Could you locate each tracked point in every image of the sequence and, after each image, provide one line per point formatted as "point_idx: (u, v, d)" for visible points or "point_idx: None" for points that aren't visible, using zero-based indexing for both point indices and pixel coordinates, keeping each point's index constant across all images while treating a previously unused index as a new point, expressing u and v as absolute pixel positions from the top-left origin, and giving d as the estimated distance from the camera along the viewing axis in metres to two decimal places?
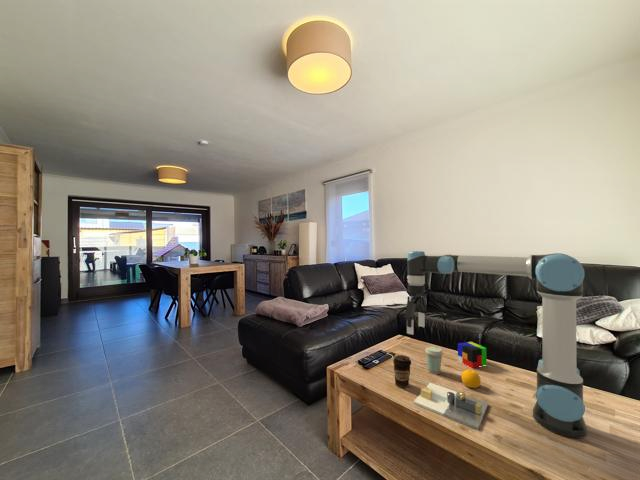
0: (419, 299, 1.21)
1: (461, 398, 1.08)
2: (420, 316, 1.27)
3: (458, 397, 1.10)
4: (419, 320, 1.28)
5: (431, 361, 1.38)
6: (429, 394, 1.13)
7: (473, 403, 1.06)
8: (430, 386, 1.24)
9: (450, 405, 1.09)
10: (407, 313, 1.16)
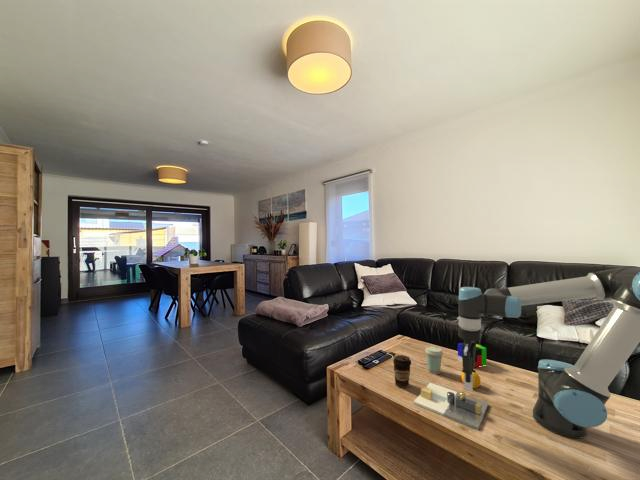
0: (474, 346, 0.99)
1: (461, 398, 1.08)
2: None
3: (458, 397, 1.10)
4: None
5: (431, 361, 1.38)
6: (429, 394, 1.13)
7: (473, 403, 1.06)
8: (430, 386, 1.24)
9: (450, 405, 1.09)
10: (465, 368, 0.98)
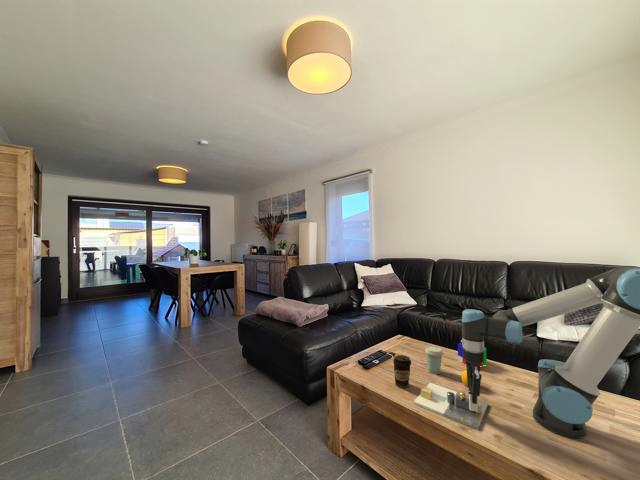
0: (479, 367, 1.03)
1: (461, 398, 1.08)
2: None
3: (458, 397, 1.10)
4: (471, 402, 1.04)
5: (431, 361, 1.38)
6: (429, 394, 1.13)
7: None
8: (430, 386, 1.24)
9: (450, 405, 1.09)
10: (475, 391, 1.01)
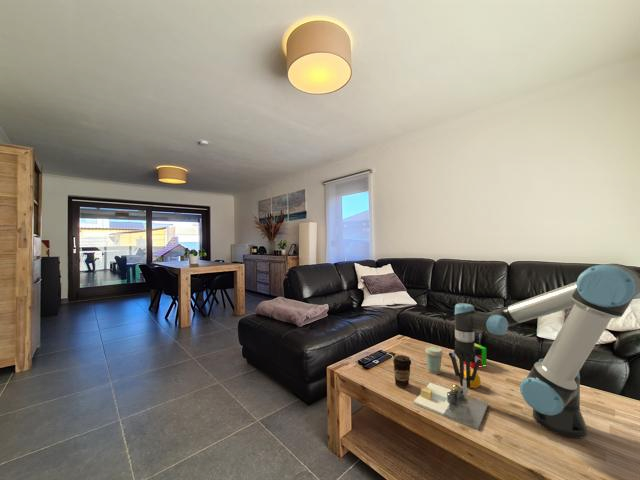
0: None
1: (457, 390, 1.14)
2: None
3: (453, 392, 1.14)
4: None
5: (431, 361, 1.38)
6: (429, 394, 1.13)
7: (460, 388, 1.17)
8: (430, 386, 1.24)
9: (450, 405, 1.09)
10: (475, 375, 1.13)
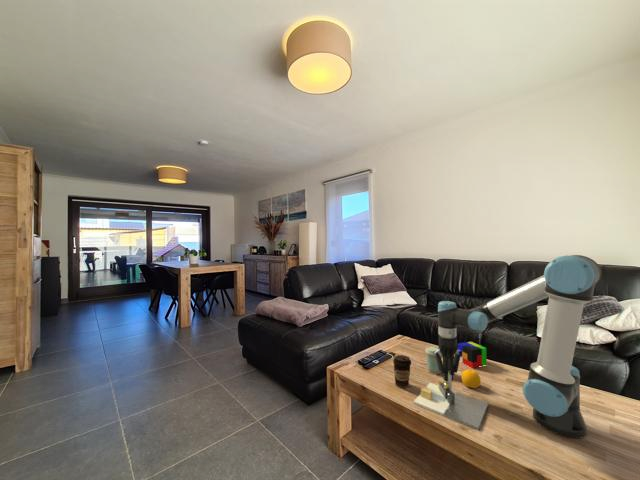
0: None
1: (449, 388, 1.16)
2: None
3: (447, 391, 1.15)
4: None
5: (431, 361, 1.38)
6: (429, 394, 1.13)
7: (444, 384, 1.20)
8: (430, 386, 1.24)
9: (450, 405, 1.09)
10: None
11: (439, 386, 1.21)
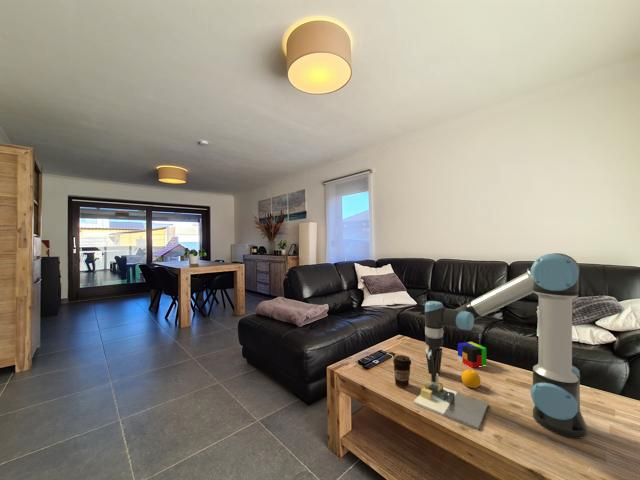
0: None
1: None
2: None
3: (444, 391, 1.14)
4: None
5: None
6: (429, 394, 1.13)
7: (432, 385, 1.19)
8: None
9: (450, 405, 1.09)
10: None
11: (429, 389, 1.18)
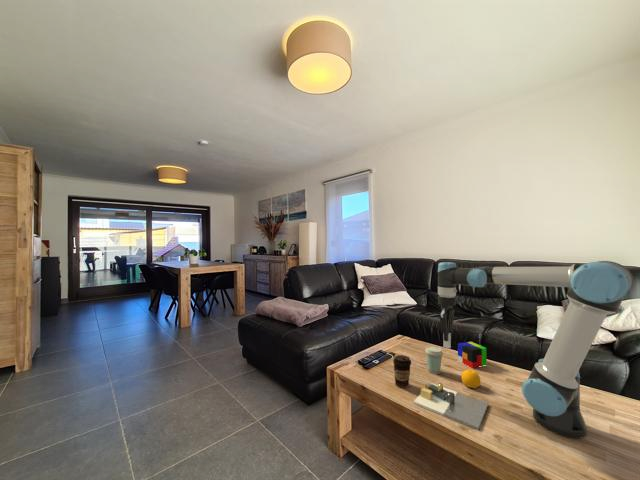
0: None
1: None
2: None
3: (444, 391, 1.14)
4: None
5: (431, 361, 1.38)
6: (429, 394, 1.13)
7: (432, 385, 1.19)
8: None
9: (450, 405, 1.09)
10: None
11: (429, 389, 1.18)
